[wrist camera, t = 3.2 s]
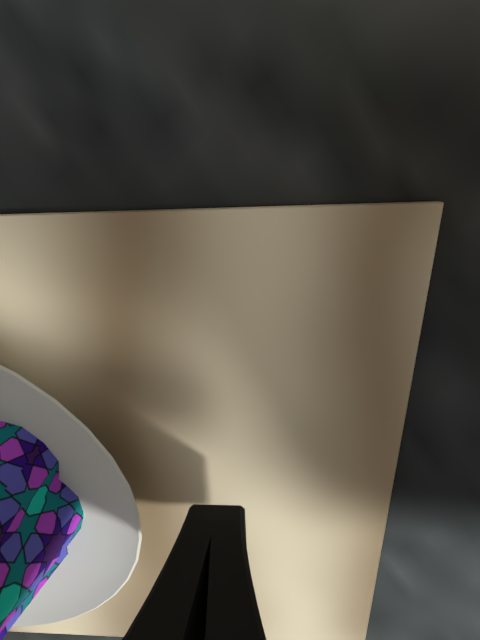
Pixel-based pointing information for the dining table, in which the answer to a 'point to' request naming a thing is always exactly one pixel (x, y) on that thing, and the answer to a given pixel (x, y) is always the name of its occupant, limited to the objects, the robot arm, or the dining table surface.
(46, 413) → the pudding
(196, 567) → the robot arm
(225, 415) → the board
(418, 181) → the dining table surface
